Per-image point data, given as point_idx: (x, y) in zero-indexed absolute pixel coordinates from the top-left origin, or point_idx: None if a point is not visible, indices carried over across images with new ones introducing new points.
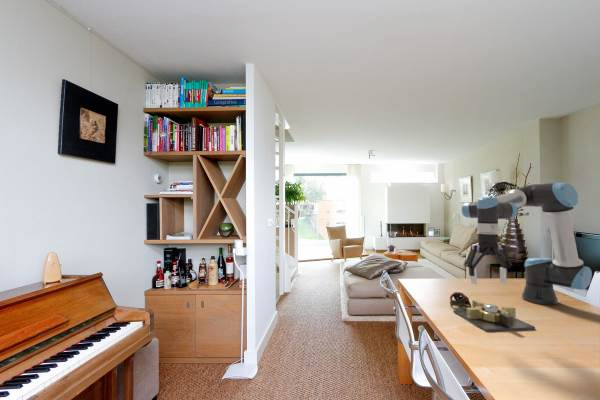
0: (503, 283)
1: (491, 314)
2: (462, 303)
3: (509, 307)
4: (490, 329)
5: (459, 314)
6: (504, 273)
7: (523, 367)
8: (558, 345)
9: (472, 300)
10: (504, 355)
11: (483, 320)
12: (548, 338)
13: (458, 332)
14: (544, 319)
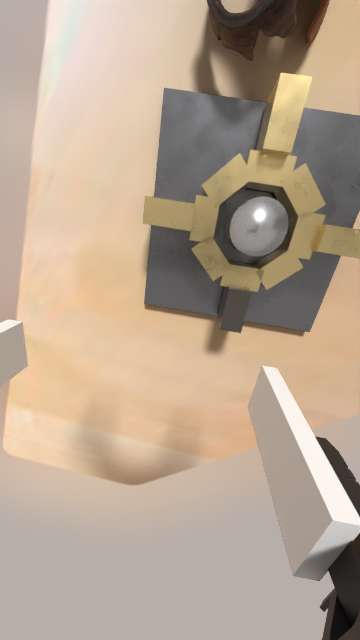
0: (251, 396)
1: (208, 271)
2: (237, 45)
3: (350, 245)
4: (159, 305)
5: (159, 148)
6: (273, 491)
7: (95, 429)
8: None
9: (280, 74)
10: (94, 396)
11: (195, 243)
12: None
13: (63, 285)
14: None
